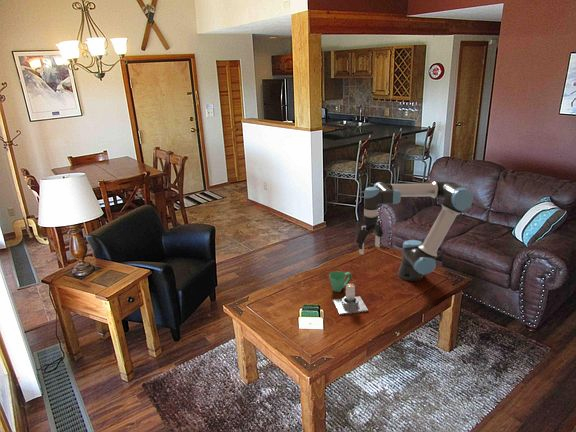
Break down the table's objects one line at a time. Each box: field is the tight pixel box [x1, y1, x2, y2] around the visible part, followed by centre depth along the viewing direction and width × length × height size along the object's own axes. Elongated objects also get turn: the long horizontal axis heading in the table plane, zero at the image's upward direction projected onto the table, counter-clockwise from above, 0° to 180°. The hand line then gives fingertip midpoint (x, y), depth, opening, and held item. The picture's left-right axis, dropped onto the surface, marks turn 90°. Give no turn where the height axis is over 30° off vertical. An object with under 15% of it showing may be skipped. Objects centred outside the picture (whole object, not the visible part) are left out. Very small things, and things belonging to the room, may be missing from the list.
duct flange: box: [332, 295, 369, 316], centre depth 223 cm, size 16×14×4 cm
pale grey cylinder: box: [345, 283, 356, 304], centre depth 221 cm, size 5×5×12 cm
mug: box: [328, 270, 352, 293], centre depth 239 cm, size 15×10×10 cm
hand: (369, 250), depth 228 cm, fingers open, 13 cm apart
